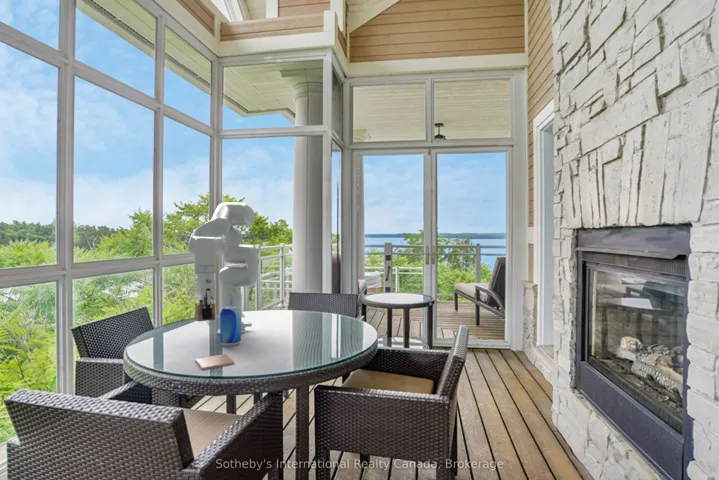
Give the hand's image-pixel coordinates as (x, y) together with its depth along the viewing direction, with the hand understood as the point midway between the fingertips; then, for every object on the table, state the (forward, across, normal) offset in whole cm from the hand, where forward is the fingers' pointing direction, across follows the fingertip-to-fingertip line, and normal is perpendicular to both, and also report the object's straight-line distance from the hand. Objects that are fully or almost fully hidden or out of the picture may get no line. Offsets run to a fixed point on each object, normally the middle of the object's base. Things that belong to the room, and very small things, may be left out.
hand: (205, 316), depth 144 cm
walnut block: (+1, 0, 0) cm, 1 cm away
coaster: (+16, -5, -2) cm, 17 cm away
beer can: (+16, +16, -14) cm, 26 cm away
